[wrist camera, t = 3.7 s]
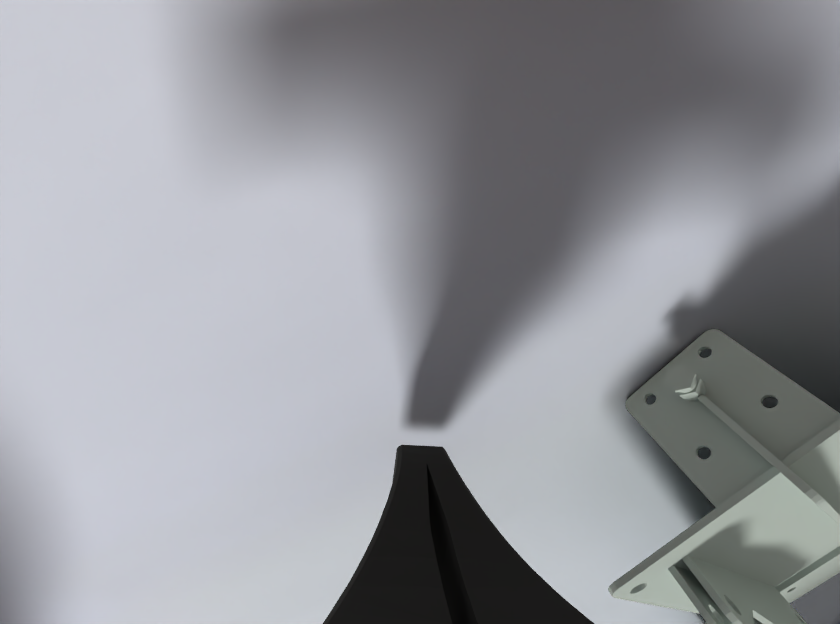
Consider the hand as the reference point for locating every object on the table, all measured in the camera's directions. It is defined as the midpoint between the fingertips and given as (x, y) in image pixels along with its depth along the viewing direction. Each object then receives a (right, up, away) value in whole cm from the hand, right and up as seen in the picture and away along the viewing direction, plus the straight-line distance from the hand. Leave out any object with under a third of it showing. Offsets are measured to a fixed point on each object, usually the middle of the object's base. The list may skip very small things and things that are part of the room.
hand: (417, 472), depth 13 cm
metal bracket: (+13, -1, +3) cm, 13 cm away
